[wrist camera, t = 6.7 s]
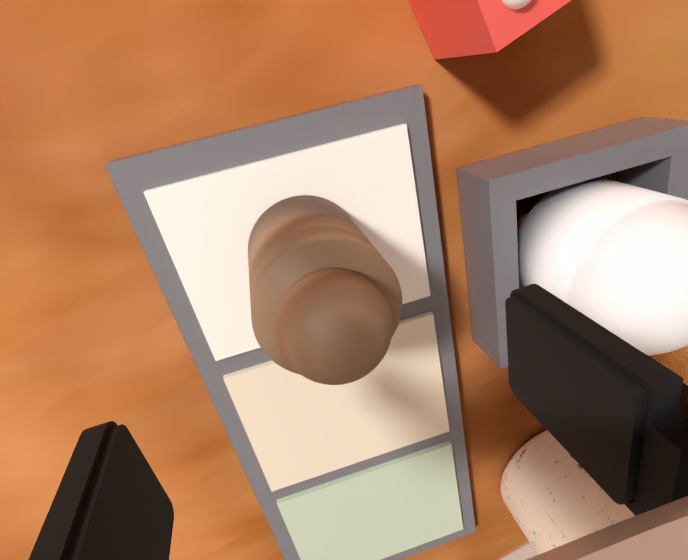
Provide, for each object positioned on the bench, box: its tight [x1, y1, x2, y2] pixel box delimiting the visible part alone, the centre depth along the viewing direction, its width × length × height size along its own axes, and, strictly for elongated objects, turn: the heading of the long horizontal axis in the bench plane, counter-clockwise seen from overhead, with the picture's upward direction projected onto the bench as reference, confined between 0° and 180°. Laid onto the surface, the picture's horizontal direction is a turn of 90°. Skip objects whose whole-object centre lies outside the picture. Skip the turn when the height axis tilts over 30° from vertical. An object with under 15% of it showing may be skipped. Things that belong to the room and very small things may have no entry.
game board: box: [105, 85, 476, 560], centre depth 24 cm, size 13×30×1 cm, turn 13°
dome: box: [517, 177, 688, 355], centre depth 19 cm, size 7×7×7 cm
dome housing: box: [456, 117, 688, 370], centre depth 22 cm, size 10×10×3 cm
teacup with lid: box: [500, 430, 635, 555], centre depth 26 cm, size 12×9×12 cm
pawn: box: [248, 195, 402, 385], centre depth 16 cm, size 5×5×9 cm
